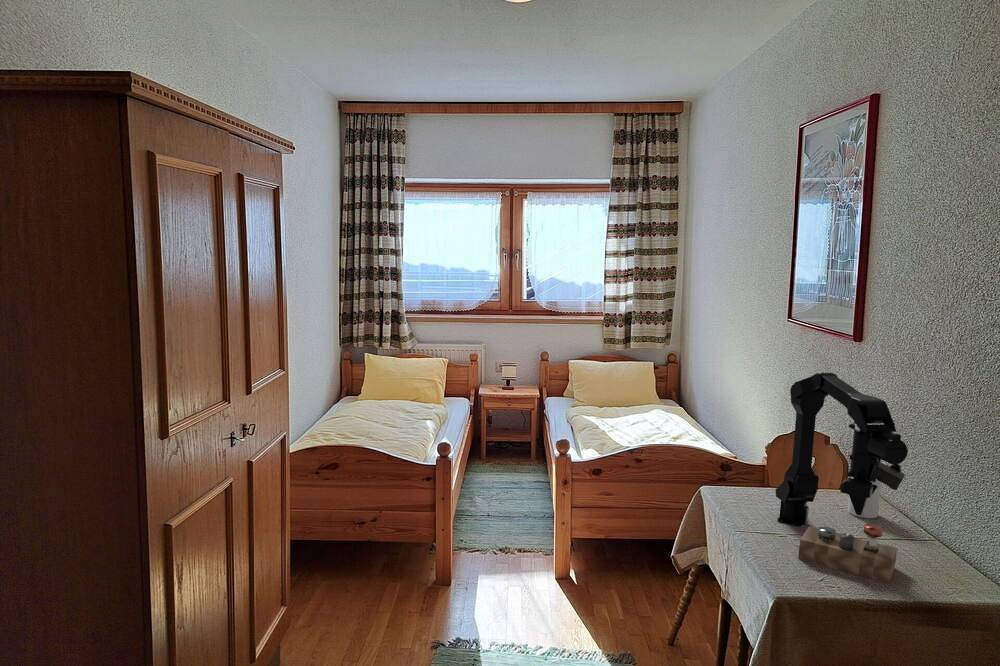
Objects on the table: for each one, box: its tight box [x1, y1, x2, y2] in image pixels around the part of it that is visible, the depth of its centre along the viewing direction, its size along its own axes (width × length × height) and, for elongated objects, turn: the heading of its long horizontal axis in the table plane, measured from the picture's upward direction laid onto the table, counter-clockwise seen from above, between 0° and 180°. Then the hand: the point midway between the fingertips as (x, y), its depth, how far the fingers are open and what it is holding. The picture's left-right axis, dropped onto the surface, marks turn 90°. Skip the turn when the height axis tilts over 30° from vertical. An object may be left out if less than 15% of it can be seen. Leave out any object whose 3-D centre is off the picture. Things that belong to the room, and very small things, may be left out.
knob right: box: [863, 523, 884, 553], centre depth 175 cm, size 4×4×7 cm
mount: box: [797, 526, 898, 584], centre depth 179 cm, size 20×10×5 cm, turn 56°
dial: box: [839, 532, 855, 551], centre depth 176 cm, size 3×3×3 cm
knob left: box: [817, 526, 837, 542], centre depth 182 cm, size 4×4×7 cm
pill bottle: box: [847, 477, 883, 519], centre depth 210 cm, size 8×8×15 cm
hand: (858, 514), depth 176 cm, fingers closed
